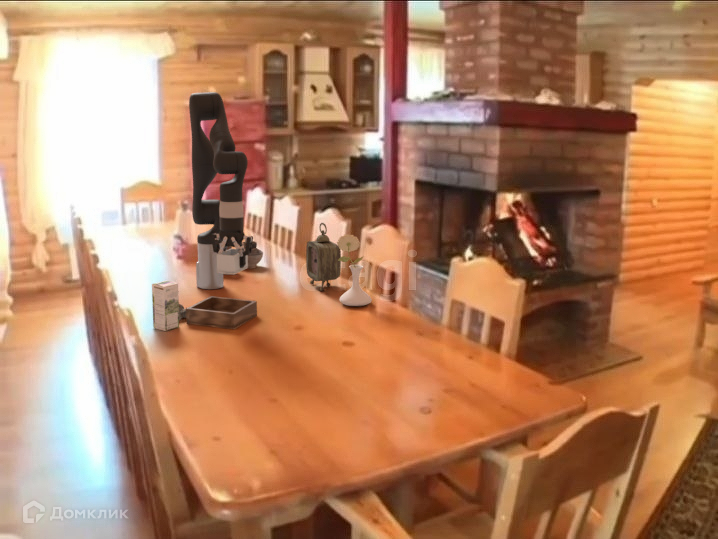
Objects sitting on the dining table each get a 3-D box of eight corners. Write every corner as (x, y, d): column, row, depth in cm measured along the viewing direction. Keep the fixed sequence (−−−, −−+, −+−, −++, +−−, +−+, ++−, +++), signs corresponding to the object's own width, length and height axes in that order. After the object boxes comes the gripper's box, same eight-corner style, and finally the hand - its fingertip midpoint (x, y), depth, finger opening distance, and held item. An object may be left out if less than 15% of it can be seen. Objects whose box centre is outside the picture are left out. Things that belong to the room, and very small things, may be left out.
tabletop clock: (306, 283, 287) (306, 220, 282) (327, 282, 291) (328, 219, 285) (318, 293, 274) (319, 226, 269) (341, 290, 278) (342, 225, 272)
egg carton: (180, 313, 247) (179, 301, 246) (193, 317, 242) (193, 305, 242) (152, 319, 239) (152, 307, 238) (166, 324, 235) (165, 312, 234)
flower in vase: (375, 302, 264) (377, 233, 258) (365, 310, 253) (367, 238, 248) (341, 298, 268) (342, 230, 262) (330, 306, 257) (330, 235, 252)
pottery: (208, 273, 301) (207, 245, 298) (248, 263, 322) (248, 236, 319) (229, 277, 295) (228, 248, 292) (268, 266, 316) (268, 239, 313)
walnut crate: (186, 323, 235) (186, 308, 234) (211, 310, 250) (210, 296, 249) (234, 329, 230) (234, 314, 229) (256, 315, 245) (256, 301, 244)
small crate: (217, 272, 234) (216, 254, 233) (231, 266, 243) (230, 248, 242) (234, 274, 232) (233, 255, 231) (247, 267, 242) (247, 249, 240)
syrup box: (167, 323, 235) (165, 279, 231) (180, 327, 231) (178, 282, 228) (153, 328, 230) (150, 283, 227) (165, 331, 227) (163, 286, 223)
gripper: (205, 215, 232) (206, 267, 236) (247, 218, 228) (248, 271, 232) (216, 211, 239) (217, 262, 243) (257, 214, 235) (258, 266, 239)
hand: (232, 266), depth 237 cm, fingers closed on small crate, 6 cm apart
